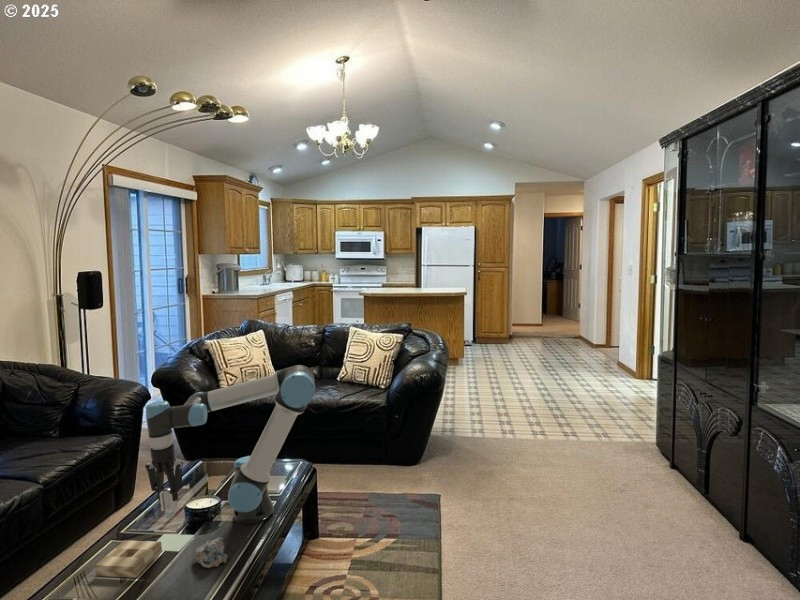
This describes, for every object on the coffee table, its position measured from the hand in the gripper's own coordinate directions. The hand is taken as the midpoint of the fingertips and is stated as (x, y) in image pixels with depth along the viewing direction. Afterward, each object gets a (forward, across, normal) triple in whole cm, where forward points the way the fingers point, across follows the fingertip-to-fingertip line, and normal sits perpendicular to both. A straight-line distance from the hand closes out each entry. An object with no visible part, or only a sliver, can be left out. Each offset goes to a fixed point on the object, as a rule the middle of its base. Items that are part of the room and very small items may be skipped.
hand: (169, 508), depth 181 cm
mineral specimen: (+14, -19, +10) cm, 26 cm away
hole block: (+13, +8, +13) cm, 20 cm away
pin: (+3, 0, 0) cm, 3 cm away
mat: (+13, +1, 0) cm, 13 cm away
